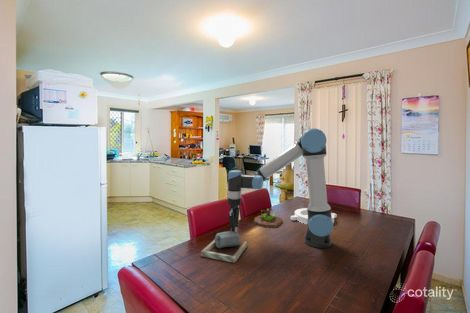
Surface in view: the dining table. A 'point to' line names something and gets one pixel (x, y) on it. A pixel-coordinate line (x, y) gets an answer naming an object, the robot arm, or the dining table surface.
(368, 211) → the dining table surface
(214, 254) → the bay
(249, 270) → the dining table surface
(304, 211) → the ring with crossbar
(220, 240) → the streaked grey egg
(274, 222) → the plant
